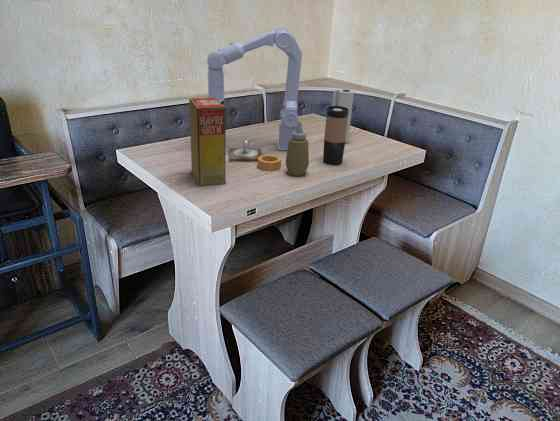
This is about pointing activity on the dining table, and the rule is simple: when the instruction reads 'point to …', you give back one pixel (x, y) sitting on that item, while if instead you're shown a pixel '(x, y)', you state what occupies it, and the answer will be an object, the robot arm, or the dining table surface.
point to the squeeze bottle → (297, 152)
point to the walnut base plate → (244, 155)
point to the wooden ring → (269, 162)
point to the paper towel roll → (344, 105)
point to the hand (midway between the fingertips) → (216, 122)
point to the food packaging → (208, 140)
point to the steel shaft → (245, 147)
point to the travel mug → (335, 135)
